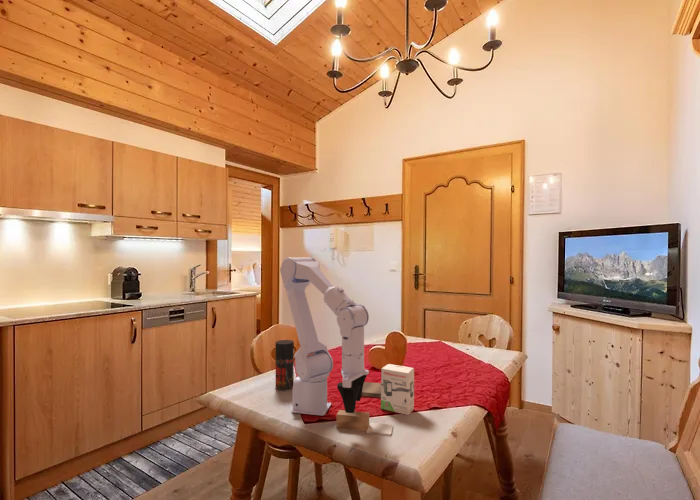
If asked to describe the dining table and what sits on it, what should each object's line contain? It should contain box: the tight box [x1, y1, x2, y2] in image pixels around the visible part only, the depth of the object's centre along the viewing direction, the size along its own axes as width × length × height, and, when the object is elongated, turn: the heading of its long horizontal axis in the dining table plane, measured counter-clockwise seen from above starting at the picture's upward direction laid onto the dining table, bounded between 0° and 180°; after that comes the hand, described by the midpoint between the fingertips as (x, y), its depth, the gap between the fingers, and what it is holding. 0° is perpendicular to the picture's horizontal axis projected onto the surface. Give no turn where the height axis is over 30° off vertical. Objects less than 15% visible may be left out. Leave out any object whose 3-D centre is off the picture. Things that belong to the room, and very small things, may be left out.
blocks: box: [336, 409, 394, 437], centre depth 95 cm, size 14×5×4 cm, turn 77°
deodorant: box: [275, 339, 295, 392], centre depth 123 cm, size 6×6×15 cm
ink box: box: [380, 363, 415, 416], centre depth 106 cm, size 9×5×12 cm, turn 61°
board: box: [361, 381, 381, 399], centre depth 119 cm, size 18×9×1 cm, turn 77°
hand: (353, 406), depth 95 cm, fingers open, 7 cm apart
